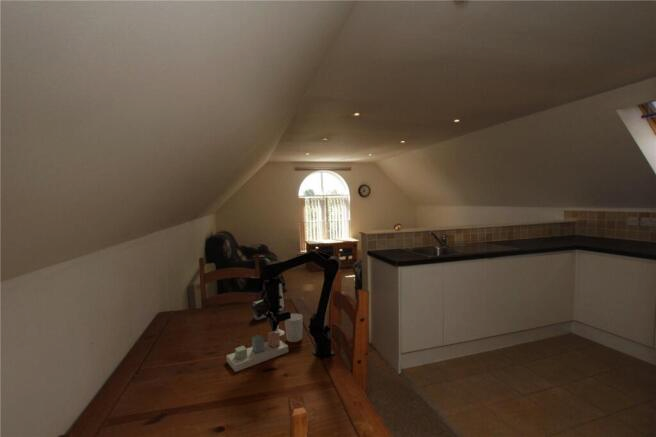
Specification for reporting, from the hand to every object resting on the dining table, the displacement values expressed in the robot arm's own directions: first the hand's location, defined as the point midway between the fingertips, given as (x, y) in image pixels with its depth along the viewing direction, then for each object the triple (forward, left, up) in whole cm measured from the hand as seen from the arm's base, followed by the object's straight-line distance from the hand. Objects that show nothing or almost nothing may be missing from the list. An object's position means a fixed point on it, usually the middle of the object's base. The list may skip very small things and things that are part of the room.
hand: (273, 331), depth 120 cm
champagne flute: (+14, -9, -9) cm, 19 cm away
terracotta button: (0, 0, -6) cm, 6 cm away
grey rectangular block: (0, +7, -6) cm, 9 cm away
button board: (0, +7, -8) cm, 11 cm away
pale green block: (0, +14, -8) cm, 16 cm away
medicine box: (+37, -12, -9) cm, 40 cm away
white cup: (+4, -12, -9) cm, 15 cm away
